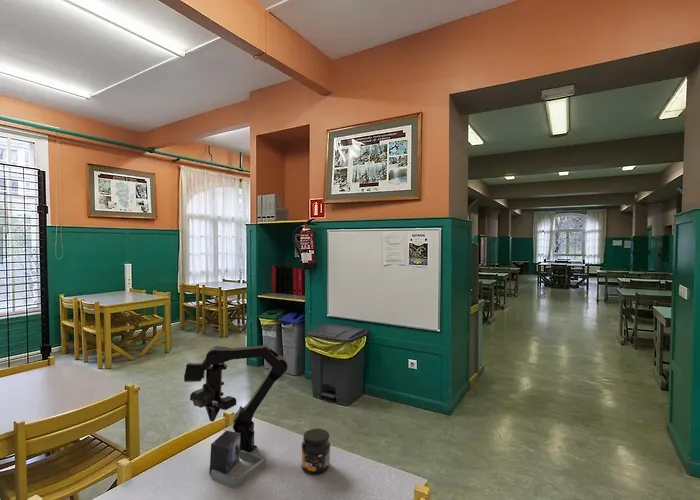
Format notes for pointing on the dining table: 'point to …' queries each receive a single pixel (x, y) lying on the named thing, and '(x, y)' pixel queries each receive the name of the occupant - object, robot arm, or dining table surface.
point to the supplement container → (315, 451)
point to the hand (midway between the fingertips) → (212, 421)
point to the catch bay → (245, 476)
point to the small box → (225, 452)
